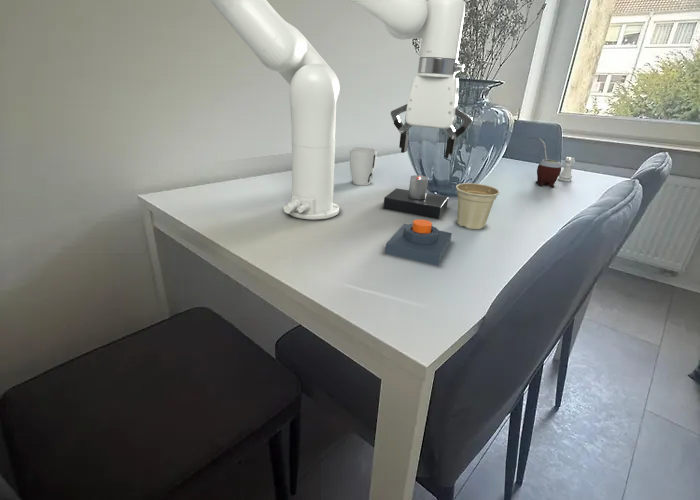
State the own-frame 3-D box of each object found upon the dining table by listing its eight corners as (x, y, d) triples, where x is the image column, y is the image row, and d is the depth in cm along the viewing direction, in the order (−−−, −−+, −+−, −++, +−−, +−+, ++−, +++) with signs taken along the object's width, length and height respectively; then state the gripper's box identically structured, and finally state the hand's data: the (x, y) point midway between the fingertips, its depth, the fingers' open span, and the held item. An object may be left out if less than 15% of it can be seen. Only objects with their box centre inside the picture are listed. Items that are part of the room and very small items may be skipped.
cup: (374, 187, 115) (377, 153, 111) (347, 185, 115) (349, 151, 111) (373, 180, 122) (376, 148, 118) (348, 178, 122) (349, 146, 118)
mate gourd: (560, 186, 129) (573, 140, 123) (547, 189, 125) (560, 141, 119) (539, 181, 135) (551, 136, 128) (526, 183, 130) (538, 137, 124)
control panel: (446, 208, 101) (448, 196, 100) (438, 219, 92) (440, 207, 91) (395, 198, 106) (396, 188, 104) (383, 209, 97) (384, 197, 96)
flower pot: (467, 234, 84) (474, 196, 81) (441, 219, 92) (447, 184, 89) (500, 230, 88) (509, 193, 84) (473, 216, 96) (479, 182, 92)
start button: (428, 236, 73) (429, 227, 72) (409, 232, 74) (411, 223, 73) (432, 229, 76) (434, 221, 75) (414, 226, 77) (415, 218, 76)
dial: (410, 193, 100) (413, 173, 98) (427, 196, 99) (430, 175, 97) (406, 197, 97) (408, 176, 94) (423, 200, 95) (426, 179, 93)
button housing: (438, 266, 70) (441, 245, 68) (385, 253, 73) (387, 234, 71) (450, 242, 80) (453, 224, 78) (403, 233, 83) (405, 215, 81)
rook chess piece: (558, 178, 140) (564, 155, 137) (572, 180, 138) (578, 157, 135) (556, 180, 137) (562, 157, 134) (570, 182, 135) (577, 159, 131)
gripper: (482, 72, 79) (467, 156, 87) (399, 67, 85) (391, 147, 92) (479, 71, 73) (463, 162, 80) (390, 66, 78) (382, 152, 85)
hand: (425, 154), depth 86 cm, fingers open, 9 cm apart
